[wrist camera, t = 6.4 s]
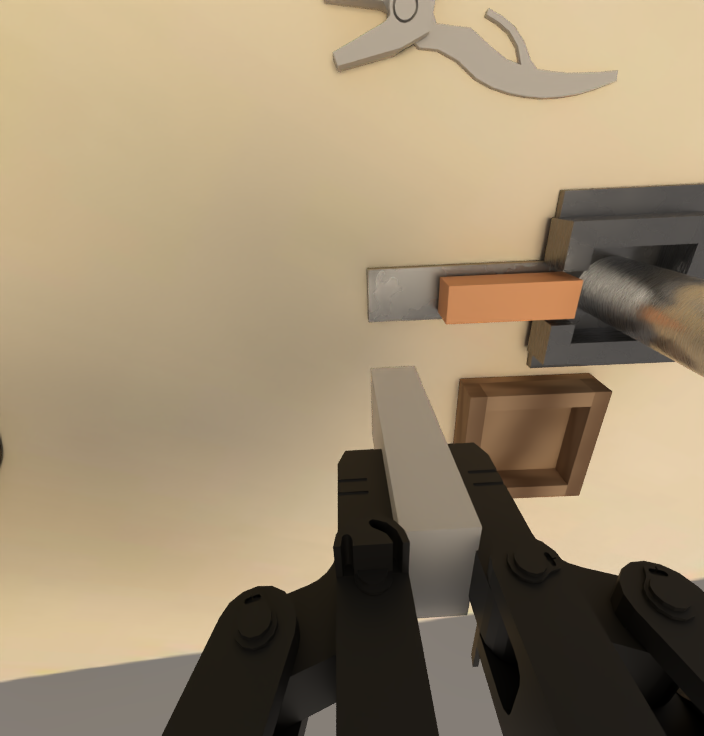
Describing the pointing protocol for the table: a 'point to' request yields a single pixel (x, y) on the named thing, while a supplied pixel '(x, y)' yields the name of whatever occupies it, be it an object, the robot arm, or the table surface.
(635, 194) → the socket
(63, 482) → the table surface
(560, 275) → the orange rectangular bar
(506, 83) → the pliers
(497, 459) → the tray
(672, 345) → the grey cylindrical peg
